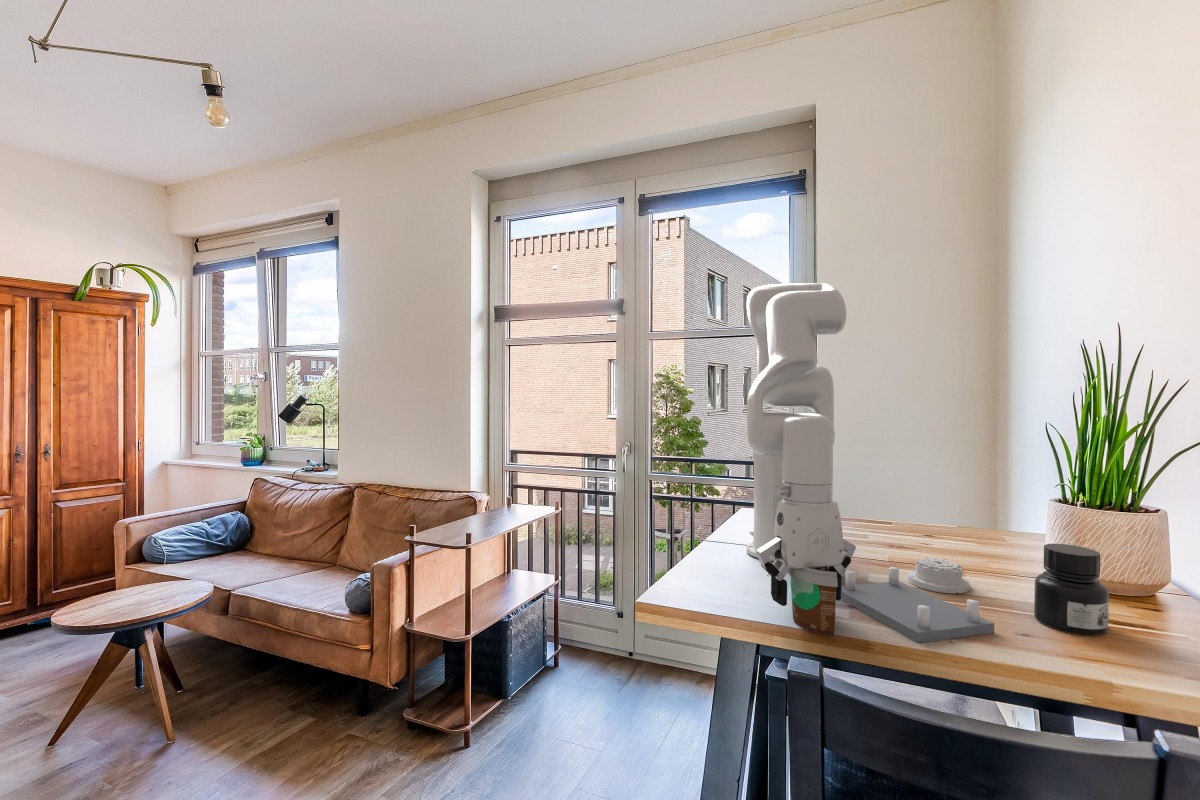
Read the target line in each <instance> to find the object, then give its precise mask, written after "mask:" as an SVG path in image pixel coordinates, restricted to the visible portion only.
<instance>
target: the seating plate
mask: <svg viewBox="0 0 1200 800" xmlns="http://www.w3.org/2000/svg"><path fill="white" fill-rule="evenodd" d="M899 573H900V568H898V567H896V566H890V567H889V568H888V581H884V582H873V583H871V582H870V583H861V584H860V583H859V584H856V578H857V577H856V572H855V571H852V570H845V585H842V586H841V599H842V600H843V601H842V600H841V601H842V602H844V601H845V602H844V603H846V602H847V603H846V604H848V603H849V604H851V605H853V606H854V607H853V606H852V607H853V608H855V607H856V608H855V609H857V608H858V609H860V610H861V611H860V610H859V611H860V612H862V611H863V612H862V613H864V614H865V613H866V615H867V614H868V615H867V616H869V615H870V617H871V616H872V617H871V618H873V619H874V618H875V620H876V619H877V620H876V621H878V620H879V621H878V622H879V623H881V624H884V625H885V626H887V627H889V628H891V629H892V630H894V631H896V632H898V633H899V634H901V635H903V636H905V637H906V638H908V637H909V638H908V639H910V638H911V639H910V640H912V639H913V640H912V641H914V640H915V641H916V643H917V642H918V643H917V644H920V642H922V643H928V642H927V641H930V642H936V640H937V641H944V640H950V639H959V638H965V637H973V636H982V635H989V634H995V623H994V622H993V621H990V620H988V619H987V618H984V617H982V616H980V601H978V600H976V599H966V609H963V608H961V607H960V606H959V607H958V606H956V605H954V604H952V603H949V602H947V601H945V600H943V599H940V598H938V597H937V596H934V595H932V594H930V593H928V592H924V591H923V590H920V589H918V588H915V587H913V586H911V585H909V584H907V583H904V582H902V581H900V574H899ZM849 604H848V605H849ZM851 605H850V606H851ZM858 609H857V610H858ZM915 641H914V642H915Z"/></svg>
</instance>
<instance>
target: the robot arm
mask: <svg viewBox="0 0 1200 800" xmlns="http://www.w3.org/2000/svg"><path fill="white" fill-rule="evenodd" d="M746 299H747V300H746V311H747V318H748V321H749V322H748V323H749V325H750V328H751V331H752V334H753V336H754V339H755V344H756V349H757V354H756V355H757V361H756V363H757V367H756V368H757V376H756V378H755V379H754V381H753V382H752V385H751V387H750V389H749V392H748V394H747V395H748V396H747V399H746V400H747V401H746V426H747V427H746V429H747V430H746V431H747V432H746V433H747V440H748V442H747V443H748V444H749V445H748V446H749V447H750V449H751V451H752V456H753V484H754V485H753V488H754V489H753V529H751V530H750V531H749V535H751V536H752V537H753V538H752V542H750V543H748V544H747V545H746V552H747V554H748V555H749V556H752V557H754V558H757V559H758V560H759V562H760V565H761V568H762V569H764V570H765V571H766V572H767V574H768V575H769V576H770V595H771V599H772V601H774V602H775V603H777V604H779V605H780V606H782V607H785V606H787V605H788V582H787V580H786V579H785V577H786V576H787V575H788V571H789V570H790V569H791V568H793V569H803V568H805V567H807V568H822V567H828V569H829V570H830V572H837V581H838V587H836V602H837V601H842V600H841V586H843V585H842V576H845V575H846V569H847V568H848V567H849V565H851V562H852V558H853V556H854V553H855V551H856V550H857V549H856V548H857V547H856V545H855V544H853V543H851V542H849V541H848V540H846V539H844V535H843V534H844V533H843V526H842V525H843V524H842V519H841V512H840V510H839V509H840V508H839V506H838V502H836V501H834V500H833V499H834V497H833V496H834V495H833V493H834V445H835V433H836V432H835V427H834V425H835V423H834V422H835V421H834V420H835V418H834V417H835V416H834V414H835V413H834V412H835V409H834V408H835V402H834V401H835V398H834V397H835V392H834V389H835V388H834V380H833V376H832V374H831V372H830V370H829V369H828V368H826V367H825V366H822V365H818V352H817V344H816V337H815V336H817V335H818V336H819V335H837V334H839V333H841V331H842V330H843V329H844V327H845V326H846V323H847V307H846V302H845V299H844V297H843V295H842V294H841V292H840V291H839V290H838V289H837V288H836V287H834V286H832V285H831V284H829V283H824V282H819V283H818V282H814V283H813V282H812V283H811V282H810V283H807V282H806V283H777V284H776V283H775V284H767V285H765V284H764V285H761V286H757V287H754V288H753V289H751V291H749V292H748V294H747V298H746ZM764 406H765V407H767V408H768V407H769V408H777V409H779V408H782V409H785V408H786V409H808V410H809V412H765V411H764Z"/></svg>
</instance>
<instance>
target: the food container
mask: <svg viewBox="0 0 1200 800" xmlns="http://www.w3.org/2000/svg"><path fill="white" fill-rule="evenodd" d="M787 575H789V576H790V577H789V578H790V593H791V606H792V607H791V608H792V619H793V620H794V621H793V622H794V623H795V624H796V625H797V626H798V627H800V628H801V627H802V629H803V630H805V631H809V632H811V633H815V634H818V635H823V636H833V637H834V636H835V629H836V628H835V627H836V608H837V607H836V606H837V605H836V602H837V600H836V587H838V581H837V572H830V570H829V569H828V567H822V568H807V567H805V568H803V569H793V568H791V569H790V570H789V571H788V573H787Z"/></svg>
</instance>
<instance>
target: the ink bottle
mask: <svg viewBox="0 0 1200 800" xmlns="http://www.w3.org/2000/svg"><path fill="white" fill-rule="evenodd" d="M1043 569H1044V571H1043V572H1042V573H1040V574H1038V575H1037V576H1036V577H1035V579H1034V598H1033V599H1034V600H1033V601H1034V602H1033V603H1034V604H1033V606H1034V607H1033V608H1034V609H1033V610H1034V611H1033V614H1034V617H1035V619H1036V620H1037V621H1038V622H1039V623H1042V624H1043V625H1047V626H1049V627H1051V628H1054V629H1057V630H1059V631H1063V632H1067V633H1071V634H1076V635H1081V636H1102V635H1104V634H1106V633H1107V632H1108V630H1109V608H1110V606H1109V605H1110V602H1109V600H1110V598H1109V597H1110V594H1109V589H1108V588H1107V587H1106V586H1105V585H1103V584H1102V582H1101V581H1100V580H1099V578H1100V576H1101V553H1100V552H1099V551H1097V550H1095V549H1092V548H1091V549H1090V548H1088V547H1084V546H1079V545H1073V544H1067V543H1047V544H1044V545H1043Z"/></svg>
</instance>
